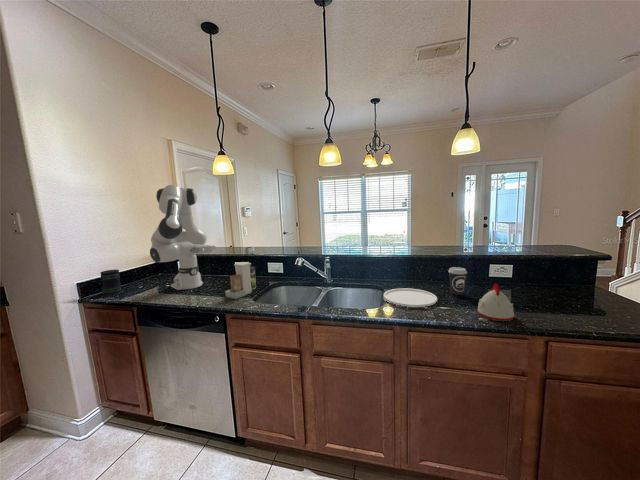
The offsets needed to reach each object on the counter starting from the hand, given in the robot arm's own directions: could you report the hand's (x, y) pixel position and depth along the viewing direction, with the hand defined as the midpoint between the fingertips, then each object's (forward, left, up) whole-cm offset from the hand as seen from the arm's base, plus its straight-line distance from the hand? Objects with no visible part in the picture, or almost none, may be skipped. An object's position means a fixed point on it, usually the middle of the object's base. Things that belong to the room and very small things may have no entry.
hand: (209, 246), depth 150 cm
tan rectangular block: (+5, +12, -31) cm, 34 cm away
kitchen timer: (+137, +50, -32) cm, 149 cm away
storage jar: (-76, -23, -32) cm, 86 cm away
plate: (+98, +54, -33) cm, 116 cm away
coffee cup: (+119, +75, -32) cm, 144 cm away
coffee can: (-1, +27, -32) cm, 42 cm away
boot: (+5, +14, -32) cm, 35 cm away
